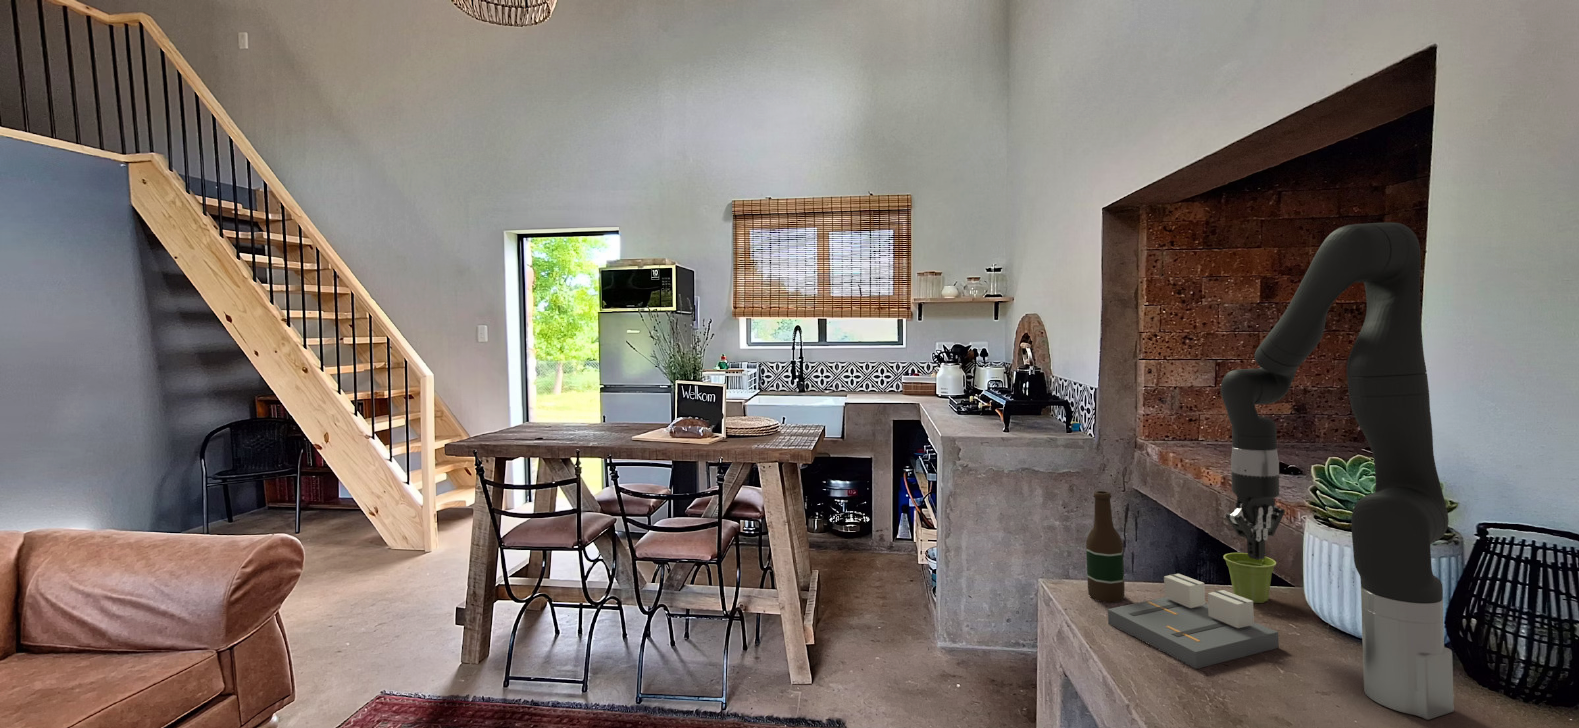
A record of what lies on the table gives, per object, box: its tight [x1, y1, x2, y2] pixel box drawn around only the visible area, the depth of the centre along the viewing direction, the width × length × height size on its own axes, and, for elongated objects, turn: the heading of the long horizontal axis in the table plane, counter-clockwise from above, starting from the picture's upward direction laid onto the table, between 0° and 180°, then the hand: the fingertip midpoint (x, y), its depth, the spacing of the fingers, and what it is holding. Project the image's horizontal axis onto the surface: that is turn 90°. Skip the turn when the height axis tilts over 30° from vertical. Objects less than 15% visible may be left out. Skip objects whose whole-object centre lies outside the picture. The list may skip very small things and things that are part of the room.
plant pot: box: [1223, 552, 1277, 604], centre depth 139 cm, size 9×9×9 cm
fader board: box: [1107, 596, 1280, 670], centre depth 124 cm, size 20×20×3 cm
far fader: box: [1163, 573, 1206, 608], centre depth 131 cm, size 6×4×5 cm, turn 17°
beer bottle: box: [1085, 490, 1126, 603], centre depth 143 cm, size 8×8×24 cm
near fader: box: [1207, 589, 1255, 628], centre depth 121 cm, size 6×4×5 cm, turn 17°
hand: (1256, 558), depth 124 cm, fingers closed
